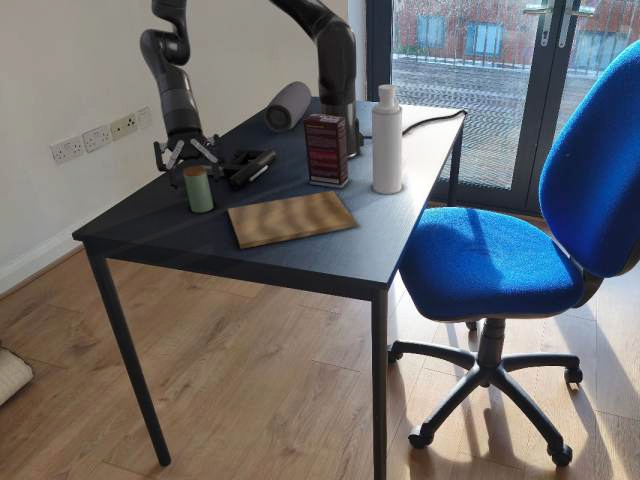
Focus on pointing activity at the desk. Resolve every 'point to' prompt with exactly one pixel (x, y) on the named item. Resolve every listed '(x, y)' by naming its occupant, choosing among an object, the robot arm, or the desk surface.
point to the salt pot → (198, 189)
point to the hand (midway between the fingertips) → (196, 184)
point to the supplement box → (326, 150)
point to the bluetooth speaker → (287, 107)
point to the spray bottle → (387, 142)
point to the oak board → (289, 219)
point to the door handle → (241, 173)
